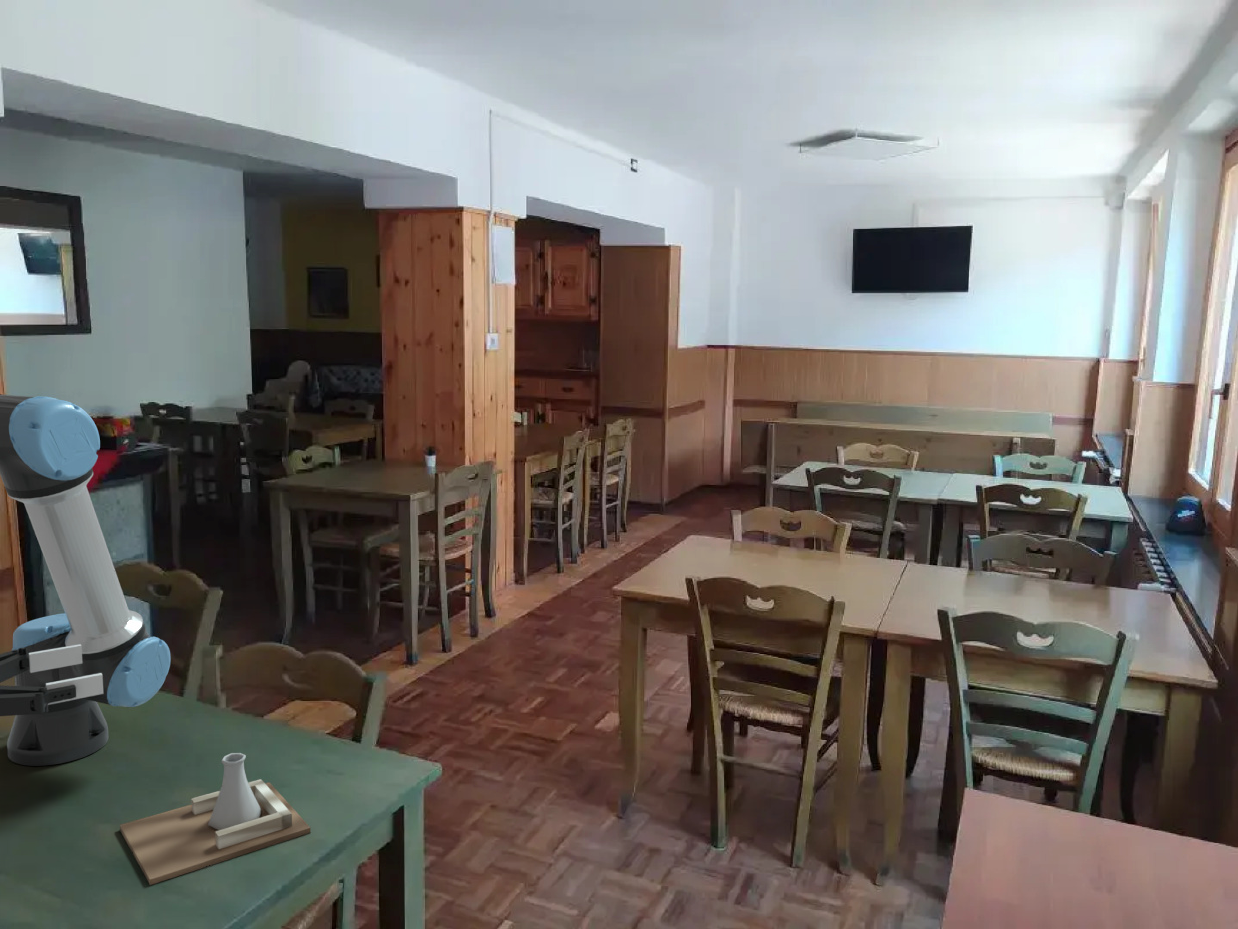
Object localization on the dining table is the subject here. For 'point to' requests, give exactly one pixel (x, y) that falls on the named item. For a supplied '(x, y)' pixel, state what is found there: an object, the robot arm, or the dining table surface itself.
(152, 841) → the nook board
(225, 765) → the flask
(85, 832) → the dining table surface
